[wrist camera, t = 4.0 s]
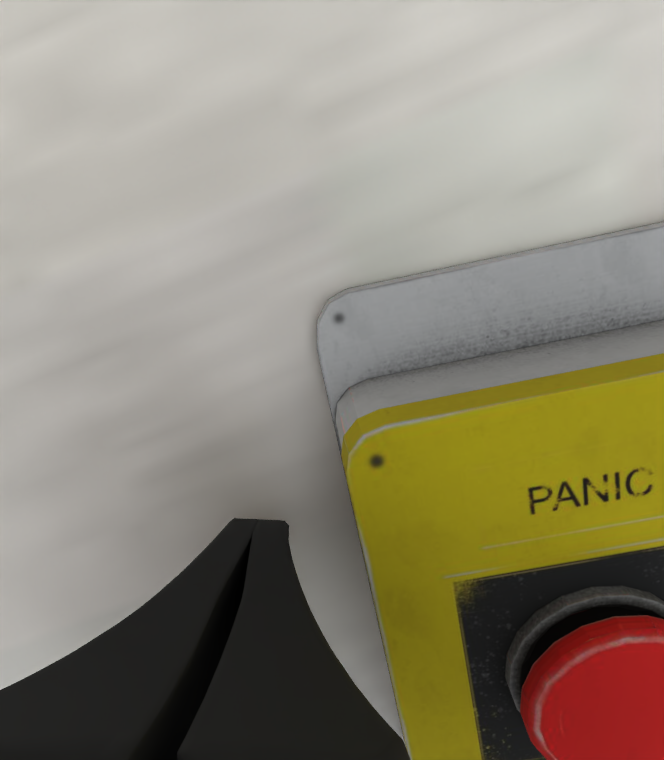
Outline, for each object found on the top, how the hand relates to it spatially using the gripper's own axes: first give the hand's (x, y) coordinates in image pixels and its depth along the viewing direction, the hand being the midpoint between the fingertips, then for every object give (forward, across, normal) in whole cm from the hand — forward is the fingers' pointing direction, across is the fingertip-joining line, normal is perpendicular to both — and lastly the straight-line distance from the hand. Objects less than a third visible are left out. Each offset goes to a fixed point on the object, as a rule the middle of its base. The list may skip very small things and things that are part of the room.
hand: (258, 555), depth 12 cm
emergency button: (+2, -7, 0) cm, 7 cm away
